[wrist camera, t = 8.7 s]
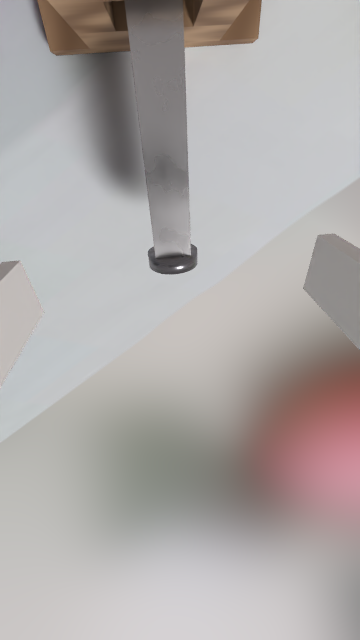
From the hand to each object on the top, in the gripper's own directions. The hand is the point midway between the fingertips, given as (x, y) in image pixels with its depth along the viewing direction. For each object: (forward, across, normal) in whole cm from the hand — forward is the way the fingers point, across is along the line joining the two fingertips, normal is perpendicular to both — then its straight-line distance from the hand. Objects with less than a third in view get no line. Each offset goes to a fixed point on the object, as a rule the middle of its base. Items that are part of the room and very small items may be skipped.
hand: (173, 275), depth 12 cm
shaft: (+14, 0, +6) cm, 15 cm away
